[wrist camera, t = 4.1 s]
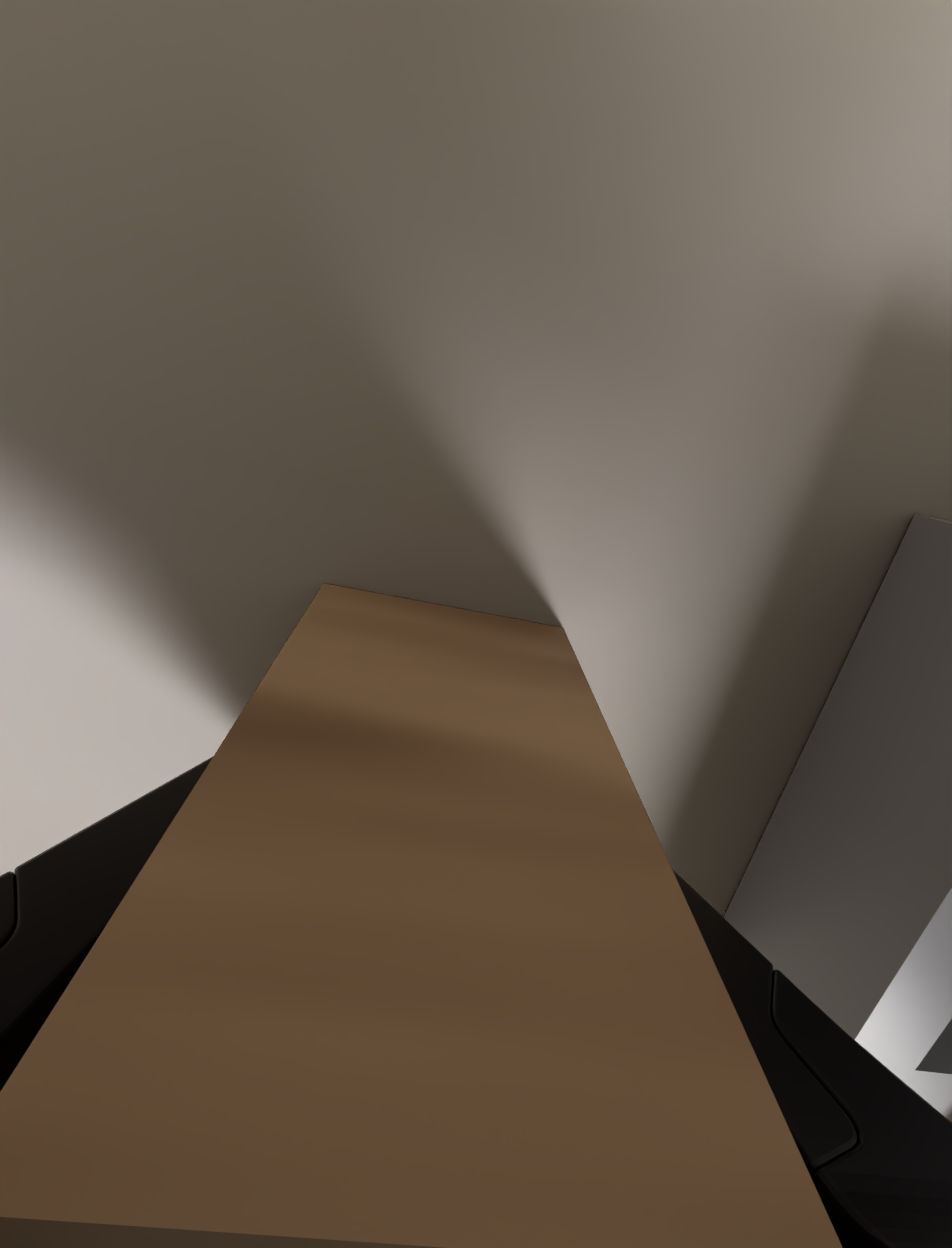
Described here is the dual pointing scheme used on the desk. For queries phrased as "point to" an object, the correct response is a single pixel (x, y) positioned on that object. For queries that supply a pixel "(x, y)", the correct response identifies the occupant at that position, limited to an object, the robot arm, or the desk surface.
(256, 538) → the desk surface
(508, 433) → the desk surface
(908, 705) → the socket strip
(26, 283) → the desk surface
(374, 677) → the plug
